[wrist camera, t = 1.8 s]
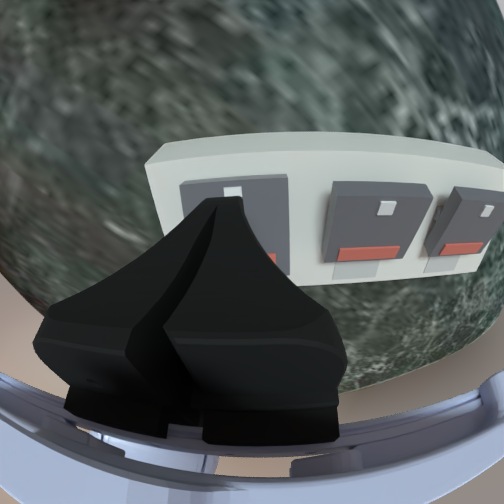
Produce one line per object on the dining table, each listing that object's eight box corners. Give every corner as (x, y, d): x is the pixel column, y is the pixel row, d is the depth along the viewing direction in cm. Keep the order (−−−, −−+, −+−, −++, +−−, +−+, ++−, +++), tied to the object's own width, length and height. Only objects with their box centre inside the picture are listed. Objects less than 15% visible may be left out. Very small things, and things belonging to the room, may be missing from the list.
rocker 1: (288, 265, 15) (290, 276, 14) (198, 268, 15) (193, 279, 14) (286, 173, 13) (288, 177, 12) (185, 180, 13) (178, 185, 12)
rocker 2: (397, 244, 15) (403, 260, 15) (321, 247, 16) (324, 264, 15) (425, 183, 11) (434, 199, 11) (332, 180, 12) (338, 198, 11)
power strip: (457, 244, 20) (478, 275, 16) (191, 255, 21) (181, 294, 18) (486, 151, 14) (518, 175, 11) (164, 143, 15) (140, 168, 12)
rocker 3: (474, 241, 15) (480, 254, 14) (423, 243, 15) (429, 258, 15) (506, 191, 11) (515, 205, 10) (453, 185, 11) (463, 200, 11)
